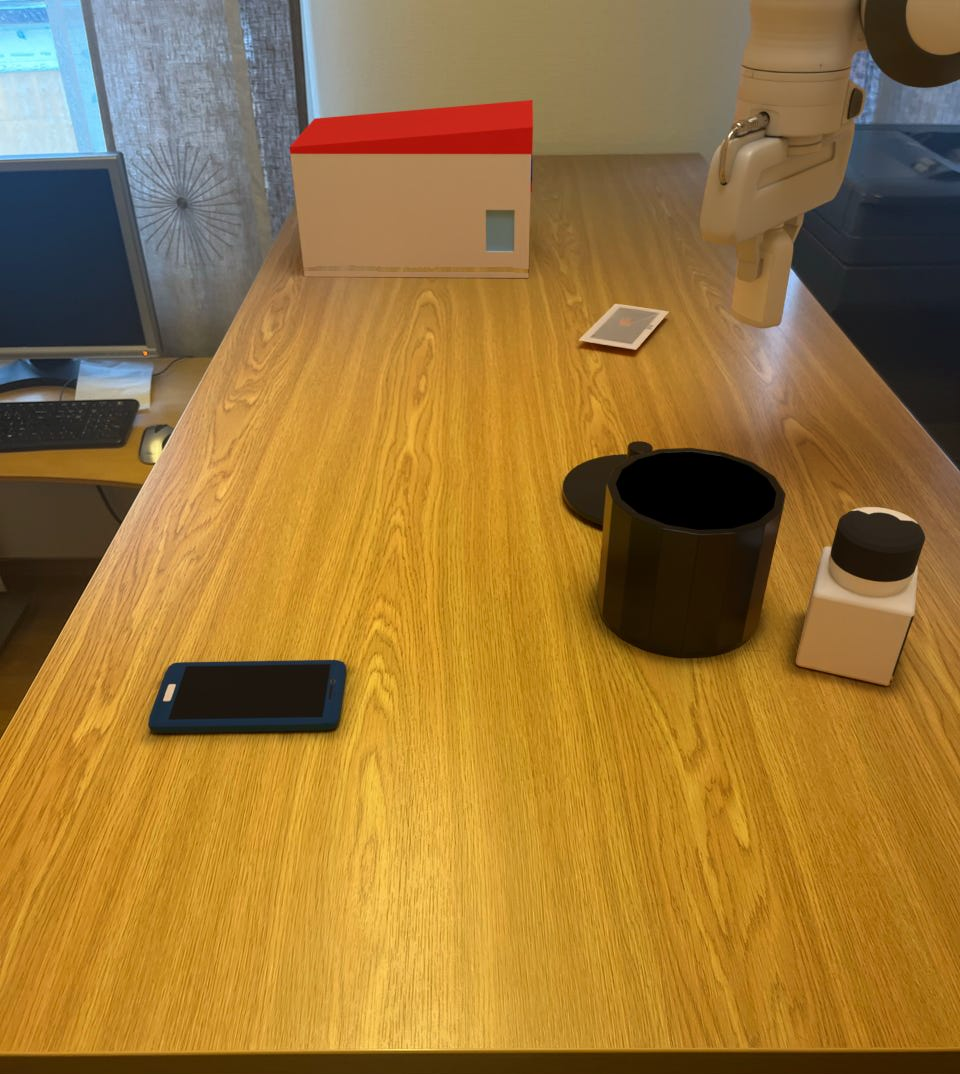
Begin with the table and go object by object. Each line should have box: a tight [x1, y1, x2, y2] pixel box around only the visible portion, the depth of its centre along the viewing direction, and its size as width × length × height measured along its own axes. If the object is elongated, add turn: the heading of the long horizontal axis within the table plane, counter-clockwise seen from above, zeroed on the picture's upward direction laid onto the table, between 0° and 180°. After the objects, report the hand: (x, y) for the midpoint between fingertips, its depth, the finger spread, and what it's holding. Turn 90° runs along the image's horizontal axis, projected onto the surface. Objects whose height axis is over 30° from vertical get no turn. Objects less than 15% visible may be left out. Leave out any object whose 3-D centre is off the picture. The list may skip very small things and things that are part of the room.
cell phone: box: [147, 659, 347, 734], centre depth 73 cm, size 7×14×1 cm, turn 91°
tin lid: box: [561, 440, 654, 527], centre depth 95 cm, size 14×14×6 cm
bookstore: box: [289, 99, 534, 279], centre depth 152 cm, size 21×35×21 cm, turn 88°
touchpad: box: [578, 303, 670, 351], centre depth 131 cm, size 8×15×2 cm, turn 155°
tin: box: [596, 447, 786, 659], centre depth 79 cm, size 13×13×12 cm
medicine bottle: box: [795, 506, 926, 687], centre depth 74 cm, size 7×7×12 cm
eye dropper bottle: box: [730, 223, 794, 330], centre depth 90 cm, size 4×6×12 cm
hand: (763, 271), depth 91 cm, fingers closed on eye dropper bottle, 4 cm apart
